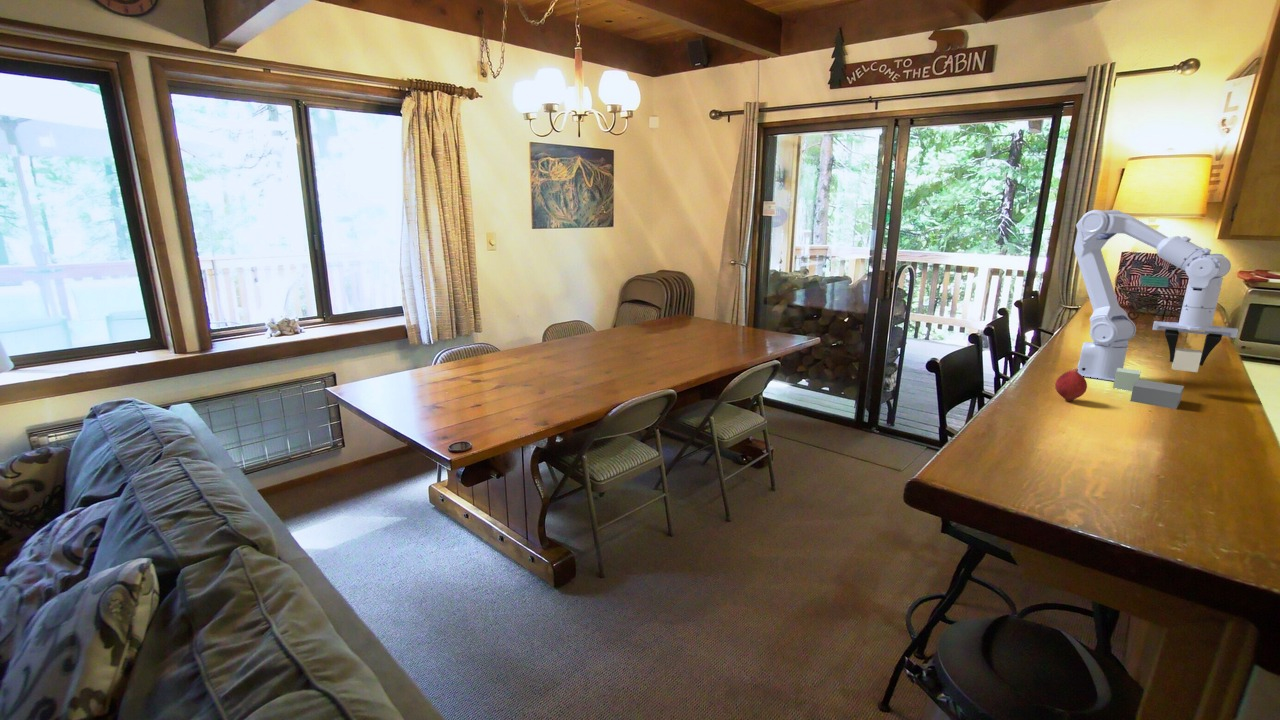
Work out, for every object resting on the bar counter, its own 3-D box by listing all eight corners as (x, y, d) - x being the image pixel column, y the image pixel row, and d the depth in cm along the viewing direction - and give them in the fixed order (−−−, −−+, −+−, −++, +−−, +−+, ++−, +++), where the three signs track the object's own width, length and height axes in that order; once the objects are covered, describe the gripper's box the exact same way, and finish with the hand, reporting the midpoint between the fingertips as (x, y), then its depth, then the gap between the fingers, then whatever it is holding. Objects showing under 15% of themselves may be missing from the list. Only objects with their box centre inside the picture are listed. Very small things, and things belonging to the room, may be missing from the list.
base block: (1130, 402, 135) (1133, 385, 134) (1135, 395, 140) (1139, 379, 139) (1176, 410, 129) (1179, 393, 128) (1180, 402, 134) (1184, 386, 133)
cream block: (1171, 369, 139) (1175, 350, 138) (1172, 365, 142) (1176, 347, 141) (1197, 372, 136) (1201, 353, 135) (1197, 368, 139) (1201, 350, 138)
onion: (1056, 403, 133) (1062, 369, 131) (1050, 396, 139) (1055, 363, 137) (1087, 406, 131) (1093, 372, 129) (1079, 398, 136) (1085, 366, 134)
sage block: (1112, 388, 145) (1116, 371, 143) (1114, 384, 148) (1117, 367, 147) (1136, 392, 142) (1139, 374, 140) (1137, 388, 145) (1140, 370, 144)
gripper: (1157, 305, 137) (1145, 361, 140) (1244, 312, 127) (1229, 371, 131) (1158, 302, 142) (1146, 355, 145) (1242, 308, 132) (1227, 365, 136)
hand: (1185, 363), depth 138 cm, fingers closed on cream block, 4 cm apart
